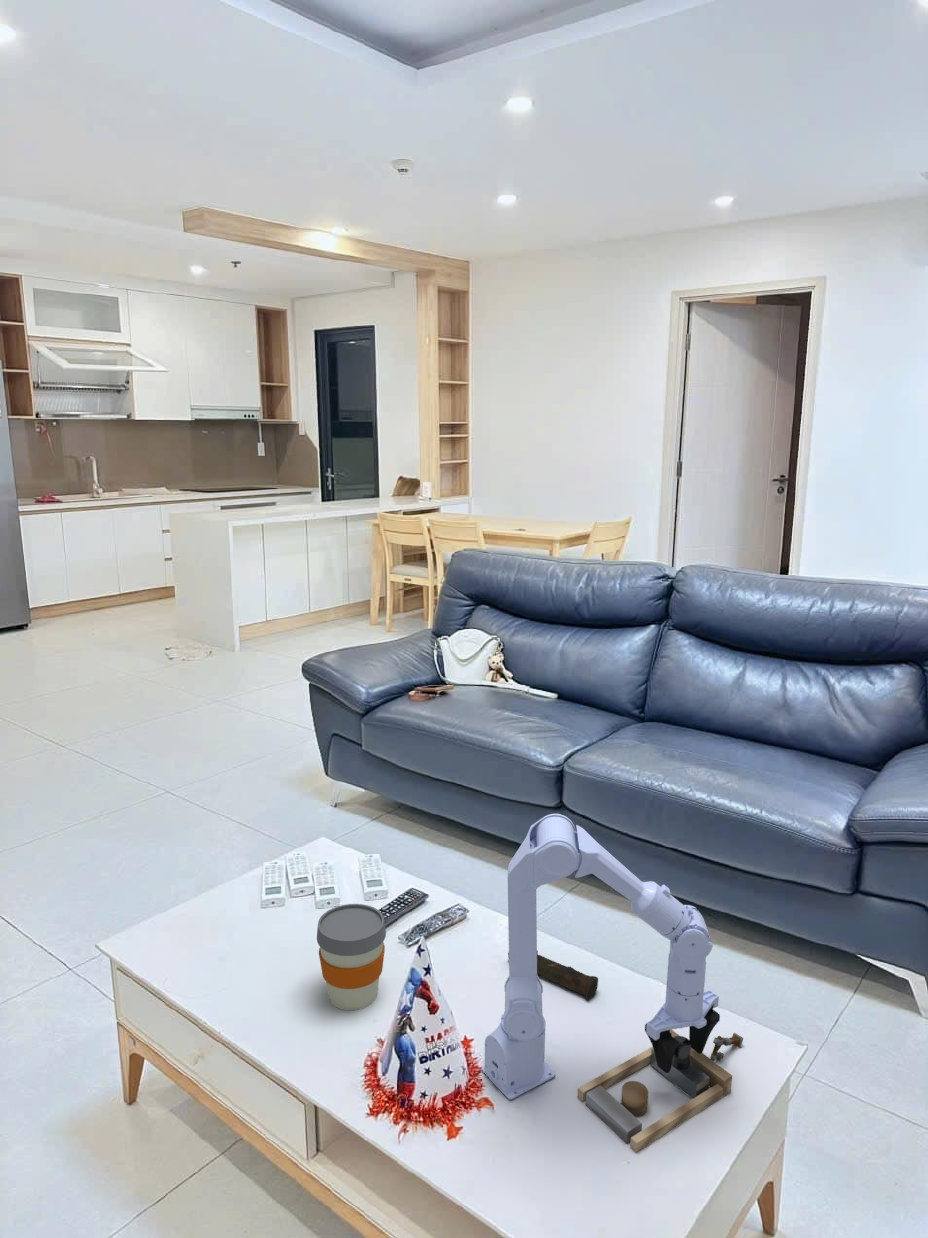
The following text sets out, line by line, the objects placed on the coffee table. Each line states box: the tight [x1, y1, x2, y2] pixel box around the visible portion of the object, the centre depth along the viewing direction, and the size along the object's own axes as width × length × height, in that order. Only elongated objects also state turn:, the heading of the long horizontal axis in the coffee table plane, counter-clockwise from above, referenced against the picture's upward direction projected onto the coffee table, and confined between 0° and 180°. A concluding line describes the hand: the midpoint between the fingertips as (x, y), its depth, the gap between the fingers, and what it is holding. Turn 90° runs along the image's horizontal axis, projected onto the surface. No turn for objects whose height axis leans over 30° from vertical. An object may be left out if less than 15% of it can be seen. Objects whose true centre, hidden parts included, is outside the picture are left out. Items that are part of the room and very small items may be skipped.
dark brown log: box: [507, 950, 599, 1002], centre depth 165 cm, size 19×4×5 cm, turn 51°
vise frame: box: [577, 1029, 733, 1153], centre depth 136 cm, size 21×13×3 cm, turn 124°
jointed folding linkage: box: [709, 1032, 744, 1063], centre depth 145 cm, size 2×8×4 cm, turn 131°
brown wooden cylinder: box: [620, 1080, 649, 1118], centre depth 134 cm, size 4×4×3 cm
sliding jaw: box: [649, 1035, 710, 1100], centre depth 139 cm, size 3×10×7 cm, turn 34°
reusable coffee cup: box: [316, 903, 387, 1011], centre depth 158 cm, size 13×13×15 cm
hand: (680, 1058), depth 139 cm, fingers open, 7 cm apart
